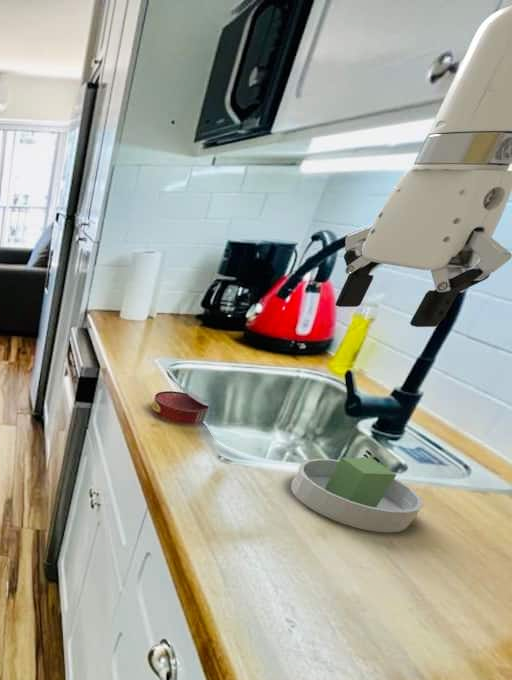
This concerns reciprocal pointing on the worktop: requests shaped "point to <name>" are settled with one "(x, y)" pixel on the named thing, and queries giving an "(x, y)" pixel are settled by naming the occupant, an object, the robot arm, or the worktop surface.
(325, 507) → the basin
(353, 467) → the green block
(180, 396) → the canned food
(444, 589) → the worktop surface
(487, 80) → the robot arm
